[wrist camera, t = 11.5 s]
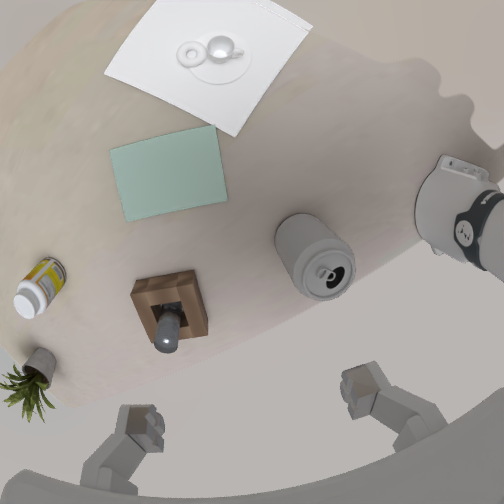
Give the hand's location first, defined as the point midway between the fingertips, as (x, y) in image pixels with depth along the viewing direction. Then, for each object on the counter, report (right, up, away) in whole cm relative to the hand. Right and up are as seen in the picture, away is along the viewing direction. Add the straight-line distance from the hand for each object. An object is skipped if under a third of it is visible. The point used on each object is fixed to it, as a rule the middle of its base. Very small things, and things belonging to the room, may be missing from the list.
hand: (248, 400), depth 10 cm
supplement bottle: (-32, +3, +26) cm, 41 cm away
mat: (-11, +16, +23) cm, 30 cm away
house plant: (-42, -15, +32) cm, 55 cm away
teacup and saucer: (-5, +33, +16) cm, 37 cm away
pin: (-12, -1, +31) cm, 33 cm away
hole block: (-12, -1, +30) cm, 33 cm away
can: (+7, +8, +29) cm, 31 cm away
